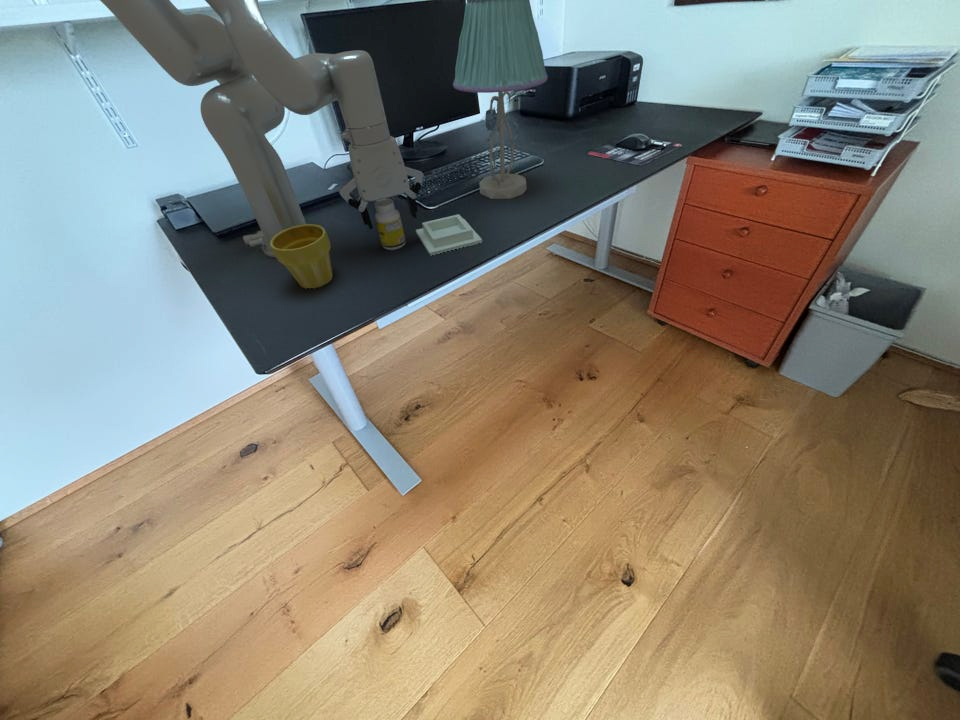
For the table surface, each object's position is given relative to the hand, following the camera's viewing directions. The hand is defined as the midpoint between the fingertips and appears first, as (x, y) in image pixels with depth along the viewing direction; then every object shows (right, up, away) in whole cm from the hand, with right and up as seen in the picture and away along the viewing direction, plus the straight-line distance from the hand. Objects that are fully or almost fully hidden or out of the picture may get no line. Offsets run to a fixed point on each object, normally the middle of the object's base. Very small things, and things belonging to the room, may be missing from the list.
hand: (392, 221), depth 87 cm
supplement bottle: (0, -4, +4) cm, 6 cm away
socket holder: (+12, -2, +5) cm, 13 cm away
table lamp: (+25, +16, +23) cm, 38 cm away
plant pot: (-15, -14, -5) cm, 21 cm away
